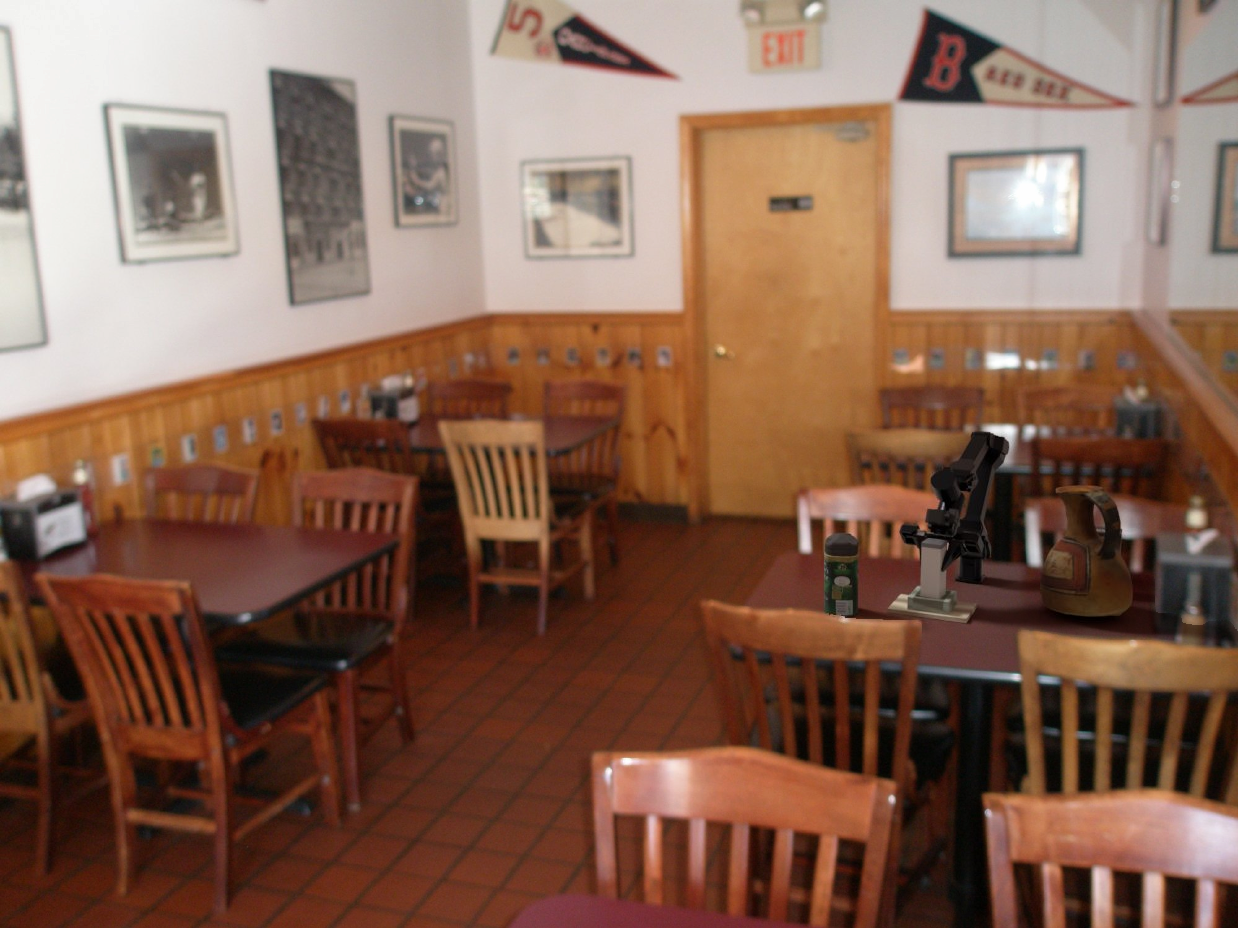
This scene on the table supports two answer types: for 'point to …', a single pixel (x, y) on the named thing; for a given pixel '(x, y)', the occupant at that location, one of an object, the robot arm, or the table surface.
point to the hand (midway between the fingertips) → (931, 569)
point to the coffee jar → (841, 575)
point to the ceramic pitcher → (1087, 559)
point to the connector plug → (933, 568)
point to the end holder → (933, 606)
